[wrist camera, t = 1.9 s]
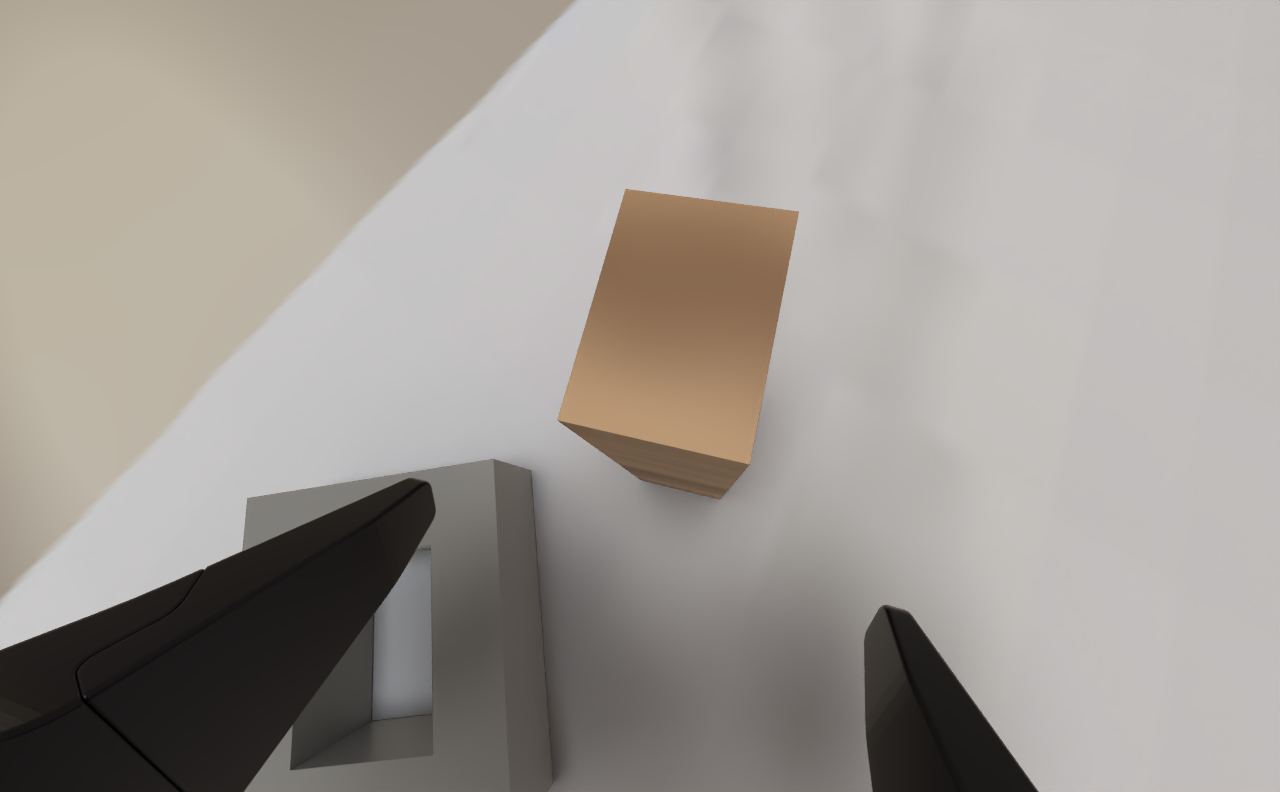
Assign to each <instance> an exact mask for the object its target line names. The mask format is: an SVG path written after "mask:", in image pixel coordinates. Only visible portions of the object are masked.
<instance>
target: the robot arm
mask: <svg viewBox="0 0 1280 792" xmlns="http://www.w3.org/2000/svg"><path fill="white" fill-rule="evenodd" d="M435 514H436V506H435V501H434V496H433V491H432V486H431V484H430V483H429V482H428V481H426V480H422V479H418V478H414V477H410V478H407V479H404V480H402V481H400V482H398V483H395V484H393V485H391V486H389V487H386V488H384V489H382V490H380V491H377V492H375V493H373V494H370V495H368V496H366V497H364V498H361V499H359V500H357V501H355V502H352V503H350V504H348V505H346V506H343V507H341V508H339V509H337V510H334V511H332V512H330V513H328V514H325V515H323V516H321V517H318V518H316V519H314V520H312V521H309V522H307V523H305V524H303V525H300V526H298V527H296V528H294V529H291V530H289V531H287V532H285V533H282V534H280V535H278V536H276V537H273V538H271V539H269V540H267V541H264V542H262V543H260V544H257V545H255V546H253V547H251V548H248V549H246V550H244V551H242V552H239V553H237V554H235V555H233V556H230V557H228V558H226V559H223V560H221V561H219V562H217V563H214V564H212V565H210V566H208V567H207V568H206V569H205V570H204V569H201V570H198V571H196V572H194V573H192V574H189V575H187V576H185V577H183V578H180V579H178V580H176V581H173V582H171V583H169V584H166V585H164V586H162V587H159V588H157V589H155V590H152V591H150V592H148V593H145V594H143V595H141V596H138V597H136V598H133V599H131V600H128V601H126V602H123V603H121V604H118V605H116V606H113V607H111V608H108V609H106V610H103V611H101V612H98V613H96V614H93V615H91V616H88V617H85V618H83V619H80V620H78V621H75V622H72V623H70V624H67V625H65V626H62V627H59V628H57V629H54V630H52V631H49V632H46V633H44V634H41V635H38V636H36V637H33V638H31V639H28V640H25V641H23V642H20V643H18V644H15V645H12V646H10V647H7V648H5V649H2V650H0V792H244V791H245V790H246V788H247V787H248V786H249V784H250V783H251V782H252V780H253V779H254V777H255V776H256V775H257V773H258V772H259V771H260V769H261V768H262V766H263V765H264V764H265V762H266V761H267V760H268V758H269V757H270V756H271V754H272V753H273V751H274V750H275V749H276V747H277V746H278V745H279V743H280V742H281V740H282V739H283V738H284V736H285V735H286V734H287V732H288V731H289V730H290V728H291V727H292V725H293V724H294V723H295V721H296V720H297V719H298V717H299V716H300V714H301V713H302V712H303V710H304V709H305V708H306V706H307V705H308V703H309V702H310V701H311V699H312V698H313V697H314V695H315V694H316V693H317V691H318V690H319V688H320V687H321V686H322V684H323V683H324V682H325V680H326V679H327V677H328V676H329V675H330V673H331V672H332V671H333V669H334V668H335V667H336V665H337V664H338V662H339V661H340V660H341V658H342V657H343V656H344V654H345V653H346V651H347V650H348V649H349V647H350V646H351V645H352V643H353V642H354V640H355V639H356V638H357V636H358V635H359V634H360V632H361V631H362V630H363V628H364V627H365V625H366V624H367V623H368V621H369V620H370V619H371V617H372V616H373V614H374V613H375V612H376V610H377V609H378V608H379V606H380V605H381V603H382V602H383V601H384V599H385V598H386V597H387V595H388V594H389V592H390V591H391V590H392V588H393V587H394V585H395V584H396V582H397V581H398V579H399V577H400V576H401V574H402V573H403V571H404V569H405V568H406V566H407V564H408V562H409V561H410V559H411V557H412V556H413V554H414V552H415V551H416V549H417V547H418V546H419V544H420V542H421V540H422V539H423V537H424V535H425V534H426V532H427V530H428V529H429V527H430V525H431V524H432V522H433V520H434V517H435ZM864 667H865V721H866V739H867V749H868V758H869V766H870V774H871V782H872V789H873V792H1038V790H1037V789H1036V788H1035V786H1034V785H1033V783H1032V782H1031V781H1030V779H1029V778H1028V776H1027V775H1026V774H1025V772H1024V771H1023V769H1022V768H1021V767H1020V765H1019V764H1018V763H1017V761H1016V760H1015V758H1014V757H1013V756H1012V754H1011V753H1010V751H1009V750H1008V749H1007V747H1006V746H1005V744H1004V743H1003V742H1002V740H1001V739H1000V737H999V736H998V735H997V733H996V732H995V730H994V729H993V728H992V726H991V725H990V723H989V722H988V721H987V719H986V718H985V717H984V715H983V714H982V712H981V711H980V710H979V708H978V707H977V705H976V704H975V703H974V701H973V700H972V698H971V697H970V696H969V694H968V693H967V691H966V690H965V689H964V687H963V686H962V684H961V683H960V682H959V680H958V679H957V677H956V676H955V675H954V673H953V672H952V671H951V669H950V668H949V666H948V665H947V664H946V662H945V661H944V659H943V658H942V657H941V655H940V654H939V652H938V651H937V650H936V648H935V647H934V645H933V644H932V643H931V641H930V640H929V638H928V637H927V636H926V634H925V633H924V631H923V630H922V629H921V627H920V626H919V625H918V623H917V622H916V620H915V619H914V618H913V616H912V615H911V614H910V613H909V612H908V611H906V610H903V609H900V608H896V607H892V606H889V605H883V606H881V607H880V608H879V610H878V612H877V613H876V615H875V617H874V619H873V620H872V622H871V624H870V625H869V627H868V629H867V631H866V634H865V639H864Z"/></svg>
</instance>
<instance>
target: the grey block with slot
mask: <svg viewBox="0 0 1280 792" xmlns="http://www.w3.org/2000/svg"><path fill="white" fill-rule="evenodd" d="M410 477H414V478H418V479H422V480H426V481H428V482H429V483H430V484H431V486H432V491H433V496H434V501H435V506H436V514H435V517H434V520H433V522H432V524H431V525H430V527H429V529H428V530H427V532H426V534H425V535H424V537H423V539H422V540H421V542H420V544H419V546H418V547H417V549H416V550H422V549H428V548H431V612H432V697H433V714H430V715H421V716H412V717H403V718H394V719H386V720H377V721H371V714H372V664H373V616H372V617H371V619H370V620H369V621H368V623H367V624H366V625H365V627H364V628H363V630H362V631H361V632H360V634H359V635H358V636H357V638H356V639H355V640H354V642H353V643H352V645H351V646H350V647H349V649H348V650H347V651H346V653H345V654H344V656H343V657H342V658H341V660H340V661H339V662H338V664H337V665H336V667H335V668H334V669H333V671H332V672H331V673H330V675H329V676H328V677H327V679H326V680H325V682H324V683H323V684H322V686H321V687H320V688H319V690H318V691H317V693H316V694H315V695H314V697H313V698H312V699H311V701H310V702H309V703H308V705H307V706H306V708H305V709H304V710H303V712H302V713H301V714H300V716H299V717H298V719H297V720H296V721H295V723H294V724H293V725H292V727H291V728H290V730H289V731H288V732H287V734H286V735H285V736H284V738H283V739H282V740H281V742H280V743H279V745H278V746H277V747H276V749H275V750H274V751H273V753H272V754H271V756H270V757H269V758H268V760H267V761H266V762H265V764H264V765H263V766H262V768H261V769H260V771H259V772H258V773H257V775H256V776H255V777H254V779H253V780H252V782H251V783H250V784H249V786H248V787H247V788H246V790H245V791H244V792H548V790H549V788H550V787H551V785H552V783H553V776H552V762H551V748H550V733H549V719H548V705H547V691H546V677H545V663H544V649H543V635H542V621H541V607H540V593H539V579H538V565H537V551H536V537H535V523H534V509H533V495H532V481H531V470H527V469H524V468H521V467H518V466H514V465H511V464H508V463H504V462H501V461H498V460H495V459H491V460H485V461H479V462H472V463H466V464H460V465H453V466H447V467H441V468H435V469H428V470H422V471H416V472H409V473H403V474H397V475H390V476H384V477H378V478H372V479H365V480H359V481H353V482H346V483H340V484H334V485H327V486H321V487H315V488H309V489H302V490H296V491H290V492H283V493H277V494H271V495H264V496H258V497H252V498H247V508H246V518H245V529H244V539H243V550H242V551H244V550H246V549H248V548H251V547H253V546H255V545H257V544H260V543H262V542H264V541H267V540H269V539H271V538H273V537H276V536H278V535H280V534H282V533H285V532H287V531H289V530H291V529H294V528H296V527H298V526H300V525H303V524H305V523H307V522H309V521H312V520H314V519H316V518H318V517H321V516H323V515H325V514H328V513H330V512H332V511H334V510H337V509H339V508H341V507H343V506H346V505H348V504H350V503H352V502H355V501H357V500H359V499H361V498H364V497H366V496H368V495H370V494H373V493H375V492H377V491H380V490H382V489H384V488H386V487H389V486H391V485H393V484H395V483H398V482H400V481H402V480H404V479H407V478H410Z"/></svg>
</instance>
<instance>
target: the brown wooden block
mask: <svg viewBox="0 0 1280 792" xmlns="http://www.w3.org/2000/svg"><path fill="white" fill-rule="evenodd" d="M798 214H799V212H797V211H789V210H782V209H774V208H766V207H759V206H751V205H744V204H736V203H728V202H721V201H713V200H705V199H698V198H690V197H682V196H675V195H667V194H659V193H652V192H644V191H637V190H629V189H626V190H625V193H624V196H623V200H622V203H621V206H620V210H619V213H618V217H617V220H616V223H615V227H614V230H613V234H612V237H611V240H610V244H609V247H608V250H607V254H606V257H605V261H604V264H603V267H602V271H601V274H600V277H599V281H598V284H597V288H596V291H595V294H594V298H593V301H592V304H591V308H590V311H589V315H588V318H587V321H586V325H585V328H584V332H583V335H582V338H581V342H580V345H579V348H578V352H577V355H576V359H575V362H574V365H573V369H572V372H571V375H570V379H569V382H568V386H567V389H566V392H565V396H564V399H563V403H562V406H561V409H560V413H559V416H558V419H557V420H558V421H559V422H560V423H562V424H563V425H565V426H566V427H568V428H569V429H570V430H572V431H573V432H575V433H576V434H577V435H579V436H580V437H582V438H583V439H584V440H586V441H587V442H589V443H590V444H591V445H593V446H594V447H596V448H597V449H598V450H600V451H601V452H603V453H604V454H605V455H607V456H608V457H610V458H611V459H612V460H614V461H615V462H617V463H618V464H619V465H621V466H622V467H624V468H625V469H626V470H628V471H629V472H631V473H632V474H633V475H635V476H636V477H638V478H639V479H640V480H643V481H648V482H652V483H656V484H660V485H664V486H668V487H672V488H676V489H680V490H684V491H688V492H692V493H696V494H700V495H704V496H708V497H712V498H716V499H721V498H722V496H723V495H724V494H725V493H726V492H727V491H728V489H729V488H730V487H731V486H732V485H733V484H734V482H735V481H736V480H737V479H738V478H739V476H740V475H741V474H742V473H743V472H744V471H745V469H746V468H747V467H748V466H749V465H750V460H751V455H752V450H753V445H754V440H755V434H756V429H757V424H758V419H759V414H760V409H761V404H762V399H763V393H764V388H765V383H766V378H767V373H768V368H769V363H770V358H771V352H772V347H773V342H774V337H775V332H776V327H777V322H778V317H779V311H780V306H781V301H782V296H783V291H784V286H785V281H786V275H787V270H788V265H789V260H790V255H791V250H792V245H793V240H794V234H795V229H796V224H797V219H798Z"/></svg>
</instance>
